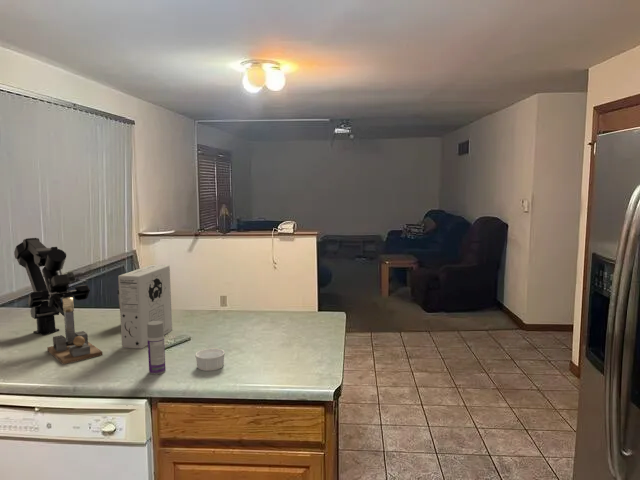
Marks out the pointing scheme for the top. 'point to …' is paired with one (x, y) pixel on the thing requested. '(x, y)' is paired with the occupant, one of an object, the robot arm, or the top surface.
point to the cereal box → (144, 303)
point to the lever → (69, 320)
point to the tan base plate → (73, 348)
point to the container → (156, 347)
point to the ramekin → (210, 359)
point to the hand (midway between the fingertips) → (66, 316)
